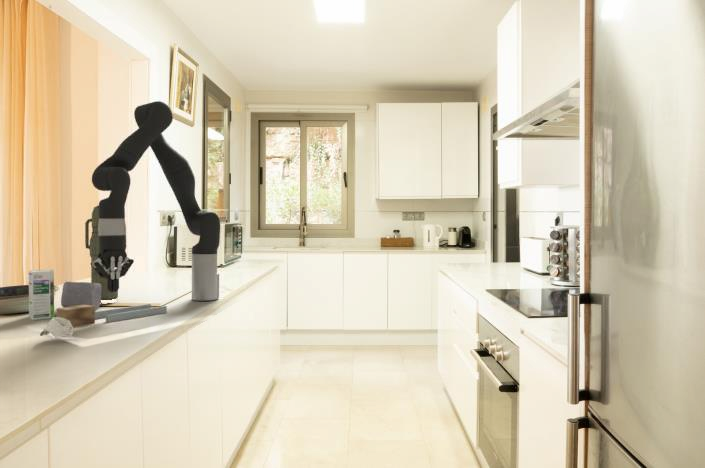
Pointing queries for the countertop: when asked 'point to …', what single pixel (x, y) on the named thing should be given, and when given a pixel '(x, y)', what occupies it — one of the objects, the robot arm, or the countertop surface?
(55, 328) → the white rolled cloth
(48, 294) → the syrup box
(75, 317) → the walnut block
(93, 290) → the stone block
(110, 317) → the guide channel
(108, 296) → the thermos
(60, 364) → the countertop surface
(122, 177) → the robot arm
